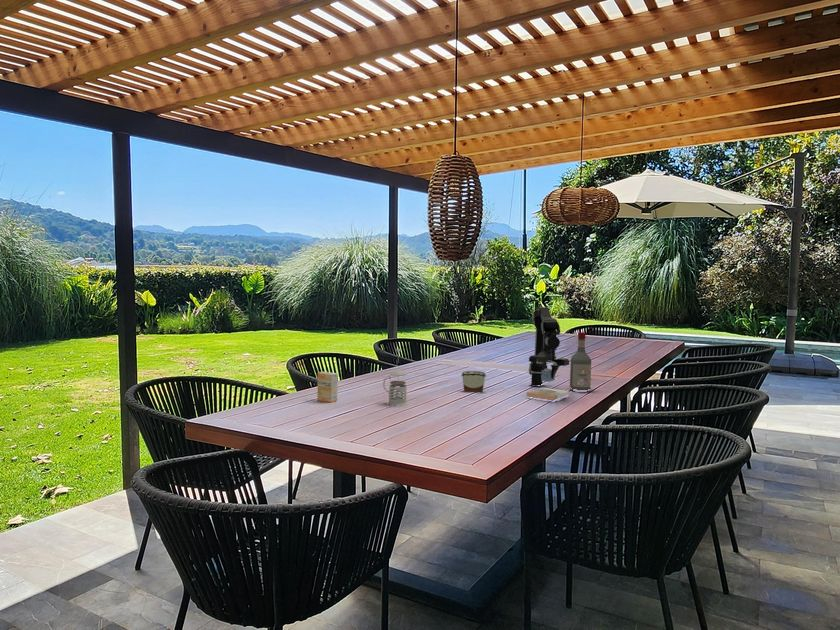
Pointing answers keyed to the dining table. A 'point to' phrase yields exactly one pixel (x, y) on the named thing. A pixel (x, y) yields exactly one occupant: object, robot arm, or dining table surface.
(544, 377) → the block
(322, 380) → the supplement box
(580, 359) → the liquor
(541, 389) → the chassis plate
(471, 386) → the food container
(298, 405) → the dining table surface
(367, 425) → the dining table surface
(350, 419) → the dining table surface
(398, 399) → the french press
